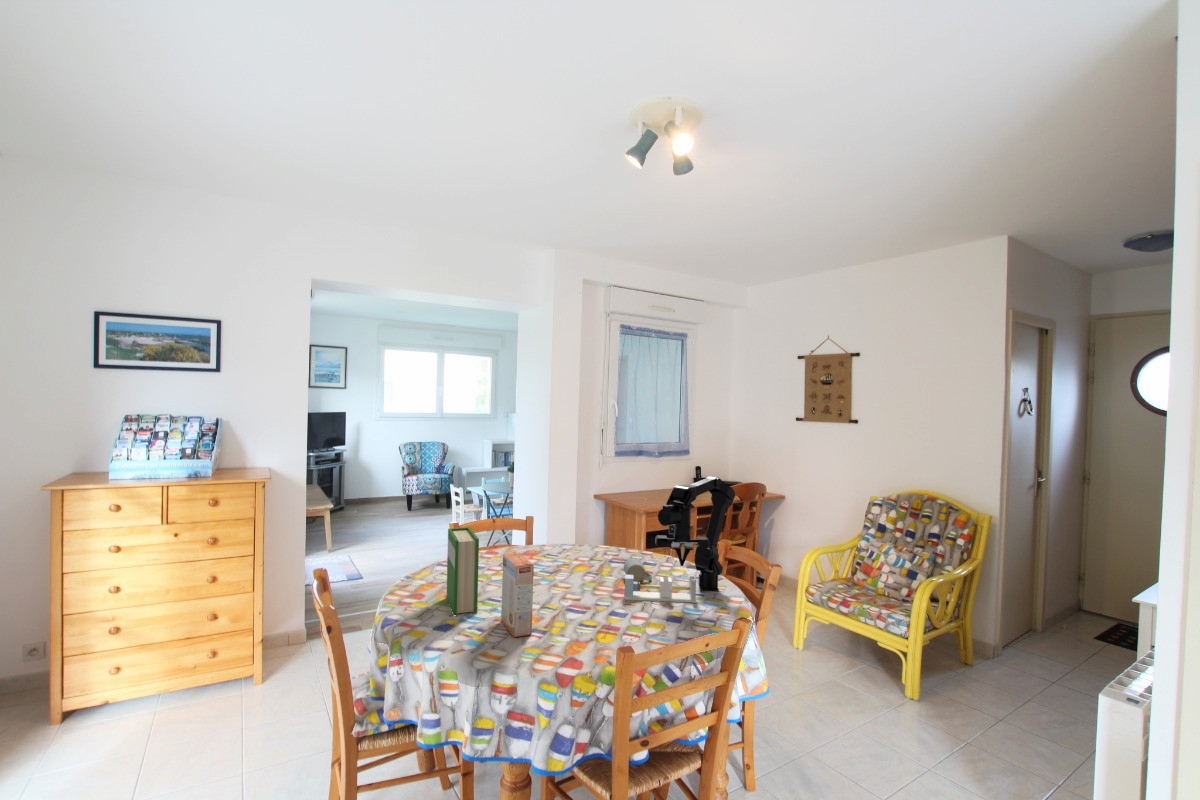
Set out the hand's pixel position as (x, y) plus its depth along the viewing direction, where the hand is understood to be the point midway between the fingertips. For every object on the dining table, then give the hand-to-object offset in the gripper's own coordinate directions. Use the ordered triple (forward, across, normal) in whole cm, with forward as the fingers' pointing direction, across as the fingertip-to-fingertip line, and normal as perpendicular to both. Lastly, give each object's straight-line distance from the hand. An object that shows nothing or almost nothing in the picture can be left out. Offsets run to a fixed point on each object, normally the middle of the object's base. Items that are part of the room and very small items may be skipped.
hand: (681, 565), depth 192 cm
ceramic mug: (+12, +15, -19) cm, 27 cm away
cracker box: (+12, +53, +31) cm, 62 cm away
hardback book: (+12, +75, +15) cm, 77 cm away
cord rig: (+12, +8, 0) cm, 14 cm away
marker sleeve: (+10, +6, 0) cm, 12 cm away
